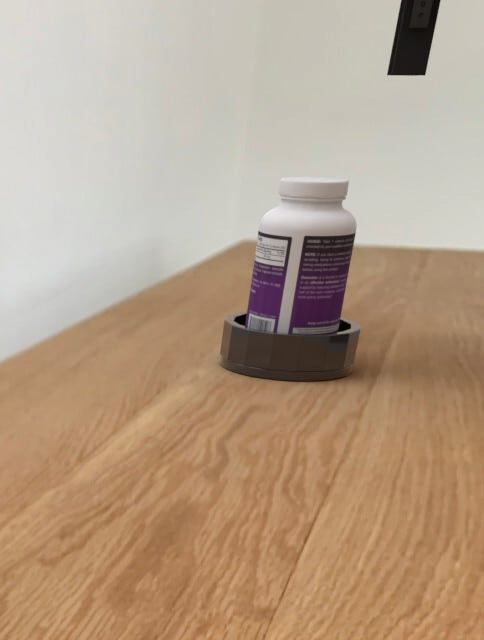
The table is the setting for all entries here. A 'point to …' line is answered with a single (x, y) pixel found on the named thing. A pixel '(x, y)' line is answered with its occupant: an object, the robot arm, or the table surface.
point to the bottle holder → (288, 351)
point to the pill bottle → (302, 258)
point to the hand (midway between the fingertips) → (404, 76)
